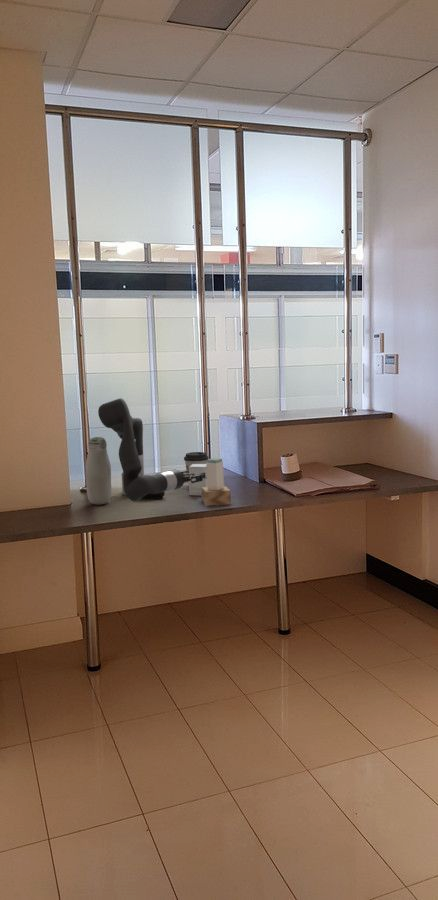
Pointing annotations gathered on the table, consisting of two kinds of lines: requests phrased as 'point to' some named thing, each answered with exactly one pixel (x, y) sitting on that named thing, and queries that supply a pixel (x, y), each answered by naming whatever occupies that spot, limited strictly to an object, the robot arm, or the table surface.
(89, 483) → the glass bottle
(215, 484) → the cream carton
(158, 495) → the end cap
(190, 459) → the coffee cup
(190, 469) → the supplement box
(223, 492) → the oak box
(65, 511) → the table surface
